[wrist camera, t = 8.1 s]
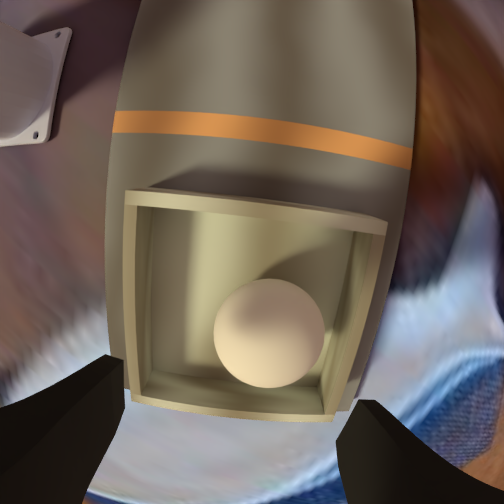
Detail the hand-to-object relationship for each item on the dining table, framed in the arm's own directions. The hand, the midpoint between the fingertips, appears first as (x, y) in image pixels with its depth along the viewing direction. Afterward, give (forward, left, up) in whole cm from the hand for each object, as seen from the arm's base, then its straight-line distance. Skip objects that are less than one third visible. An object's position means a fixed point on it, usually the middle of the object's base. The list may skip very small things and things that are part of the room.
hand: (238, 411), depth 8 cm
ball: (+1, 0, -6) cm, 6 cm away
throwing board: (0, +7, -9) cm, 12 cm away
